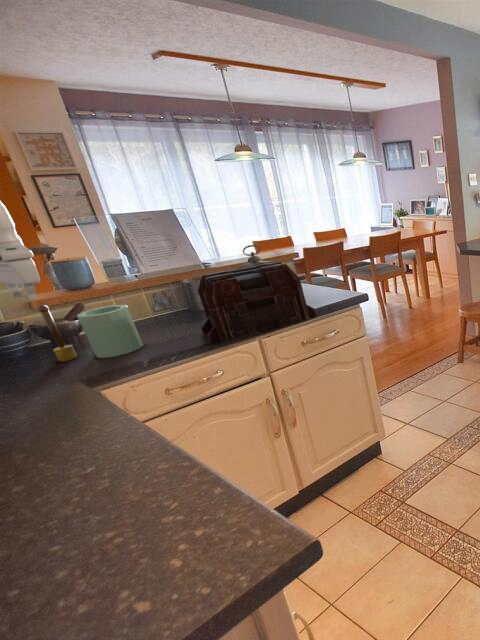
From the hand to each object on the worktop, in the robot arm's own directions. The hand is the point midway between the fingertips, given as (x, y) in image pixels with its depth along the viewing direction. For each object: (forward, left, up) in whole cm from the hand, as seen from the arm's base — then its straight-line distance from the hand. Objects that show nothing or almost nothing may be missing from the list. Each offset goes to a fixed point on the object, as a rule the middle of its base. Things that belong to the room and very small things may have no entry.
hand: (25, 298), depth 133 cm
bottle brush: (+2, -3, -21) cm, 21 cm away
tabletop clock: (+66, -15, -21) cm, 70 cm away
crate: (+44, -41, -21) cm, 63 cm away
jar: (+12, -13, -21) cm, 27 cm away
